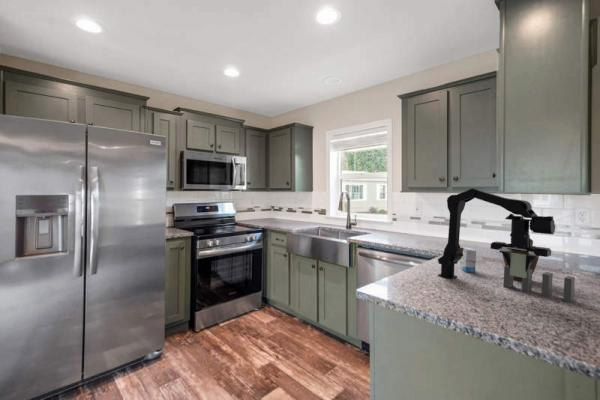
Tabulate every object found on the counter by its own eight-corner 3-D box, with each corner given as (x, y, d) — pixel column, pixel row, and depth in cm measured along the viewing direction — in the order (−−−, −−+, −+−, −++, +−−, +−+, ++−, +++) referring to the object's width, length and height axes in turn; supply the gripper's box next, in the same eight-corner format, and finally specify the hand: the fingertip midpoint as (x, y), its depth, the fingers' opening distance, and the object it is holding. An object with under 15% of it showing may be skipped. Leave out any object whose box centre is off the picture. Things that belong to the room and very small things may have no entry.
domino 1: (508, 288, 121) (509, 267, 121) (503, 286, 123) (504, 266, 123) (513, 286, 124) (514, 265, 124) (507, 285, 126) (508, 265, 126)
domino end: (570, 303, 106) (571, 279, 105) (563, 301, 107) (564, 277, 107) (573, 300, 109) (574, 277, 108) (566, 298, 110) (567, 275, 110)
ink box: (476, 273, 145) (476, 250, 145) (465, 272, 146) (466, 249, 146) (469, 268, 153) (470, 247, 153) (459, 268, 154) (460, 246, 154)
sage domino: (525, 278, 112) (525, 255, 111) (510, 275, 116) (510, 253, 116) (526, 277, 113) (527, 254, 113) (511, 274, 117) (512, 252, 117)
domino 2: (527, 292, 116) (528, 271, 116) (521, 291, 118) (522, 269, 118) (531, 290, 119) (532, 269, 119) (525, 289, 121) (526, 268, 121)
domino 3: (548, 297, 111) (549, 274, 111) (541, 296, 113) (542, 273, 112) (551, 295, 114) (552, 273, 114) (545, 293, 115) (546, 271, 115)
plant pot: (505, 281, 131) (507, 247, 131) (495, 273, 145) (497, 242, 145) (545, 285, 126) (546, 250, 126) (531, 276, 140) (532, 244, 140)
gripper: (556, 233, 111) (554, 272, 111) (500, 227, 126) (499, 262, 127) (547, 234, 105) (546, 276, 105) (490, 229, 120) (489, 265, 120)
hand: (518, 269), depth 114 cm, fingers closed on sage domino, 5 cm apart
